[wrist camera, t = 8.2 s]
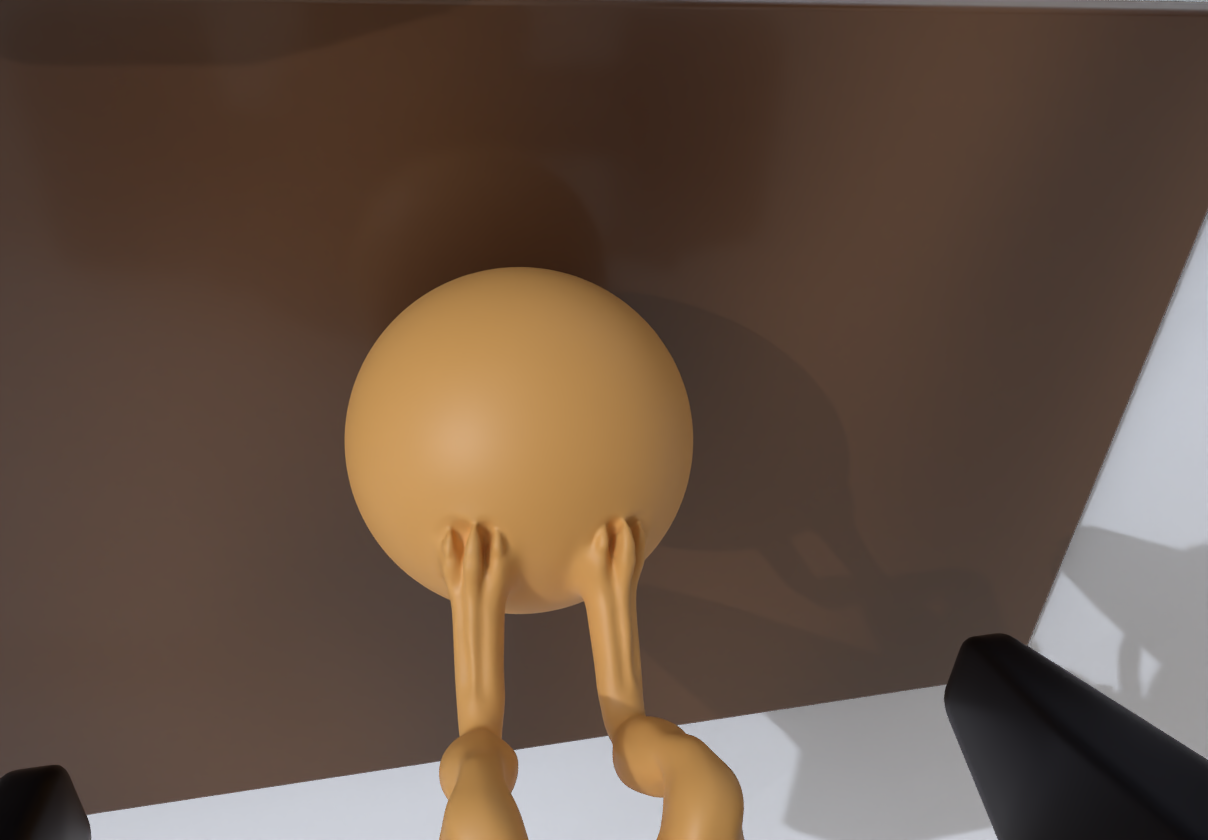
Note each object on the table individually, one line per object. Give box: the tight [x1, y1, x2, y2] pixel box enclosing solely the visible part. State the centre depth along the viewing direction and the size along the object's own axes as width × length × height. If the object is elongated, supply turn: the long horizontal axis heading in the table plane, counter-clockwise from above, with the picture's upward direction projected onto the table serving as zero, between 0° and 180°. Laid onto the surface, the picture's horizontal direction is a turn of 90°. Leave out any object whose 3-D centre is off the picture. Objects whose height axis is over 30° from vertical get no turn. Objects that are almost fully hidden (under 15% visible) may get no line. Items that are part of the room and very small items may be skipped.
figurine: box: [345, 267, 744, 840], centre depth 8 cm, size 8×6×12 cm
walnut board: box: [0, 0, 1208, 815], centre depth 14 cm, size 20×13×1 cm, turn 88°
